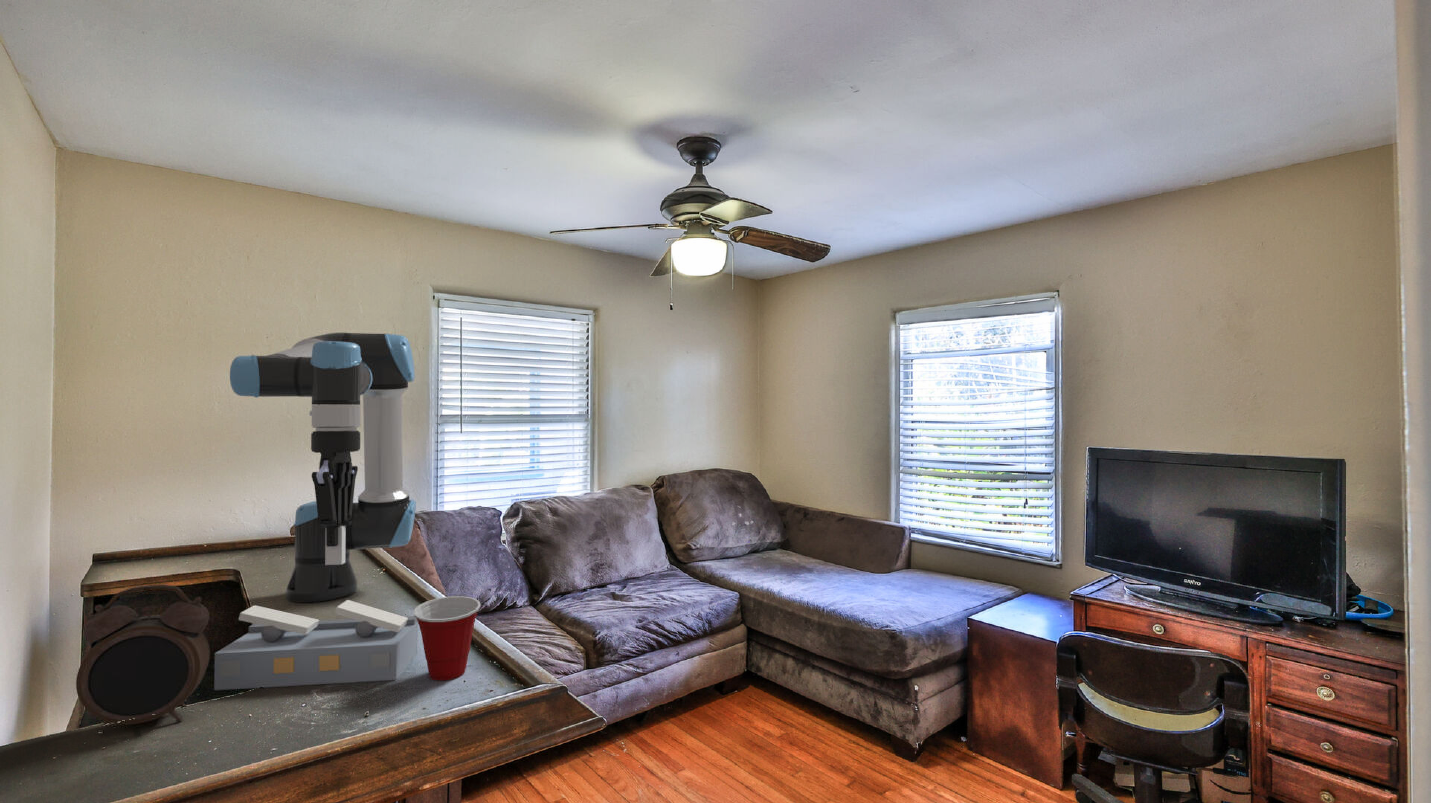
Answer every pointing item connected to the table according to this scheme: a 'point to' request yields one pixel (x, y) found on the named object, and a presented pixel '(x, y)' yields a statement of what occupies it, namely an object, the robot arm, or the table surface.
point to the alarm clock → (143, 659)
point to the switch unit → (316, 656)
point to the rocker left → (277, 622)
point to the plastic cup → (447, 634)
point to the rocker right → (370, 618)
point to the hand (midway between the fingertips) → (335, 563)
